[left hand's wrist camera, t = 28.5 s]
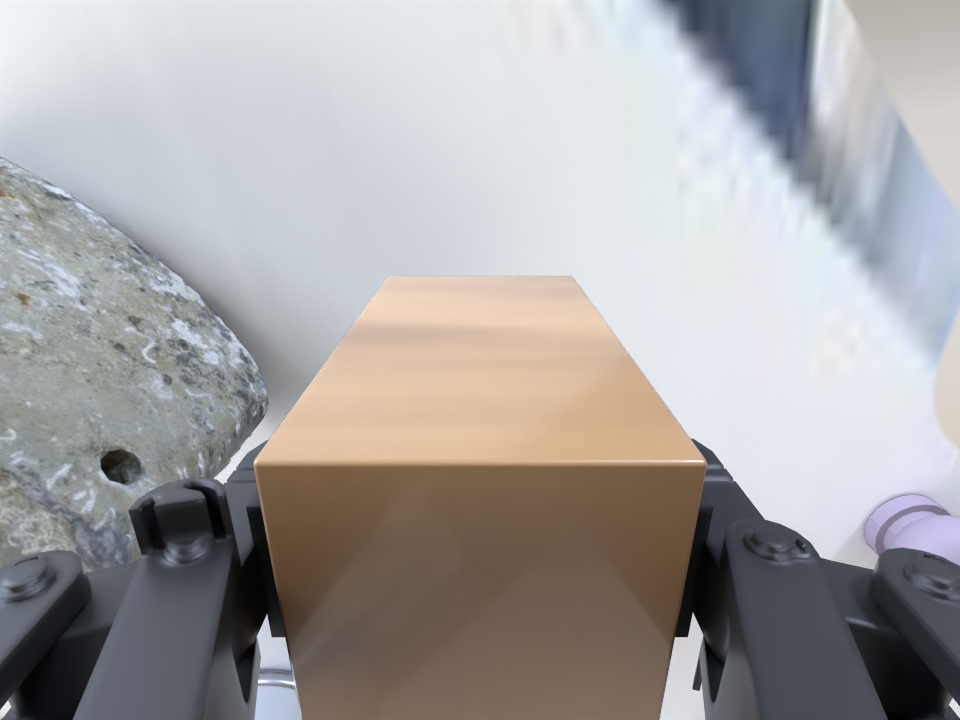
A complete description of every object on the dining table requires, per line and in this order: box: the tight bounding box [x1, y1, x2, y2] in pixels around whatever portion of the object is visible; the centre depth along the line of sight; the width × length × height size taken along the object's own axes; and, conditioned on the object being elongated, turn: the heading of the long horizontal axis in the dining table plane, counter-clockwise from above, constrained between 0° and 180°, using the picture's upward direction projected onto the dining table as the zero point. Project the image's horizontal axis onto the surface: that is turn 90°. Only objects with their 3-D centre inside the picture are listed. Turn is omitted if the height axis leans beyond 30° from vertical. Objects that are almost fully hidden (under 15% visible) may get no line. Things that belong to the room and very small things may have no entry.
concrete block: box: [0, 157, 268, 572], centre depth 28 cm, size 27×9×20 cm, turn 44°
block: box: [253, 276, 707, 720], centre depth 12 cm, size 6×6×10 cm
